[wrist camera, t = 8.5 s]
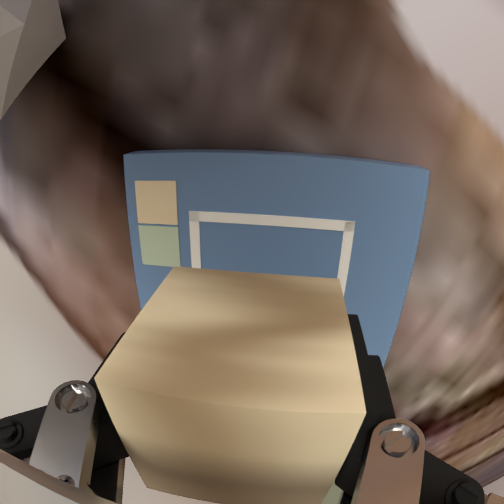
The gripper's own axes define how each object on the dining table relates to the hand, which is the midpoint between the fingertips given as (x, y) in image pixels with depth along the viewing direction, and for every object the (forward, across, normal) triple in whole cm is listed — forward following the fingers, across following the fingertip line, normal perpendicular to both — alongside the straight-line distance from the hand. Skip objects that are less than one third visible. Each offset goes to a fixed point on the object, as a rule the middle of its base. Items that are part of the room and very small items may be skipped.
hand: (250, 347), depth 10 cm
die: (+5, +13, -12) cm, 19 cm away
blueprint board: (+5, 0, 0) cm, 5 cm away
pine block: (+1, 0, 0) cm, 1 cm away
